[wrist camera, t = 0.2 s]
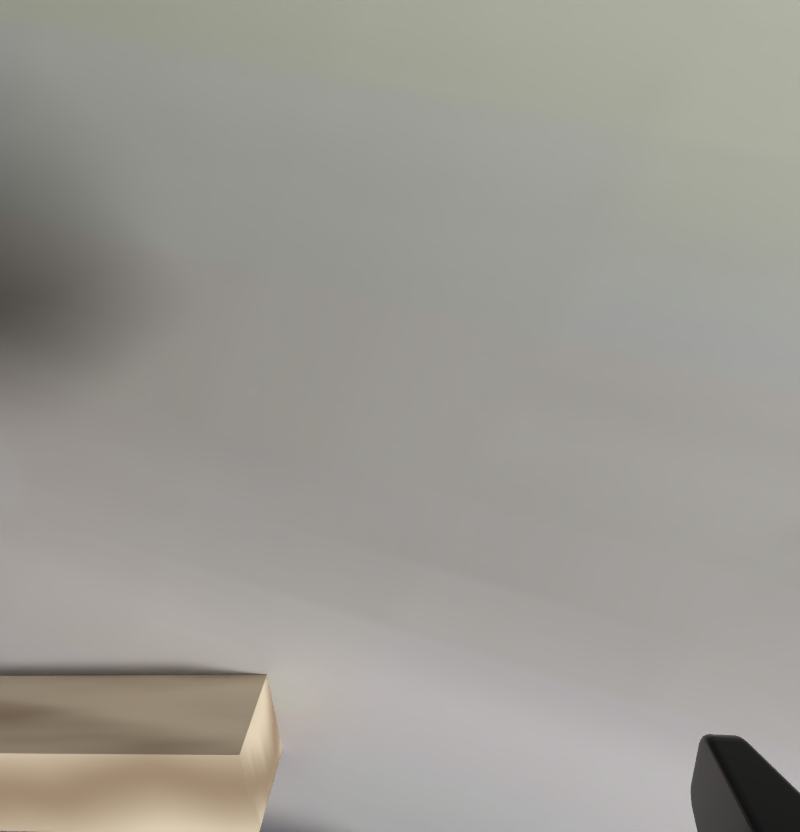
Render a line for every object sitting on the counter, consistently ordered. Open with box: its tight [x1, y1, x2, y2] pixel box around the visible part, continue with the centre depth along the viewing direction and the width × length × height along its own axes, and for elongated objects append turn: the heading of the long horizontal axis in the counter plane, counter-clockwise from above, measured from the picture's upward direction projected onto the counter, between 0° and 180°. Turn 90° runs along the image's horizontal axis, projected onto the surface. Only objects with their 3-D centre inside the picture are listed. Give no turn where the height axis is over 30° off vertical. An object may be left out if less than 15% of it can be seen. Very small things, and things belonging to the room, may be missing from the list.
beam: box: [0, 675, 282, 832], centre depth 27 cm, size 4×16×4 cm, turn 95°
